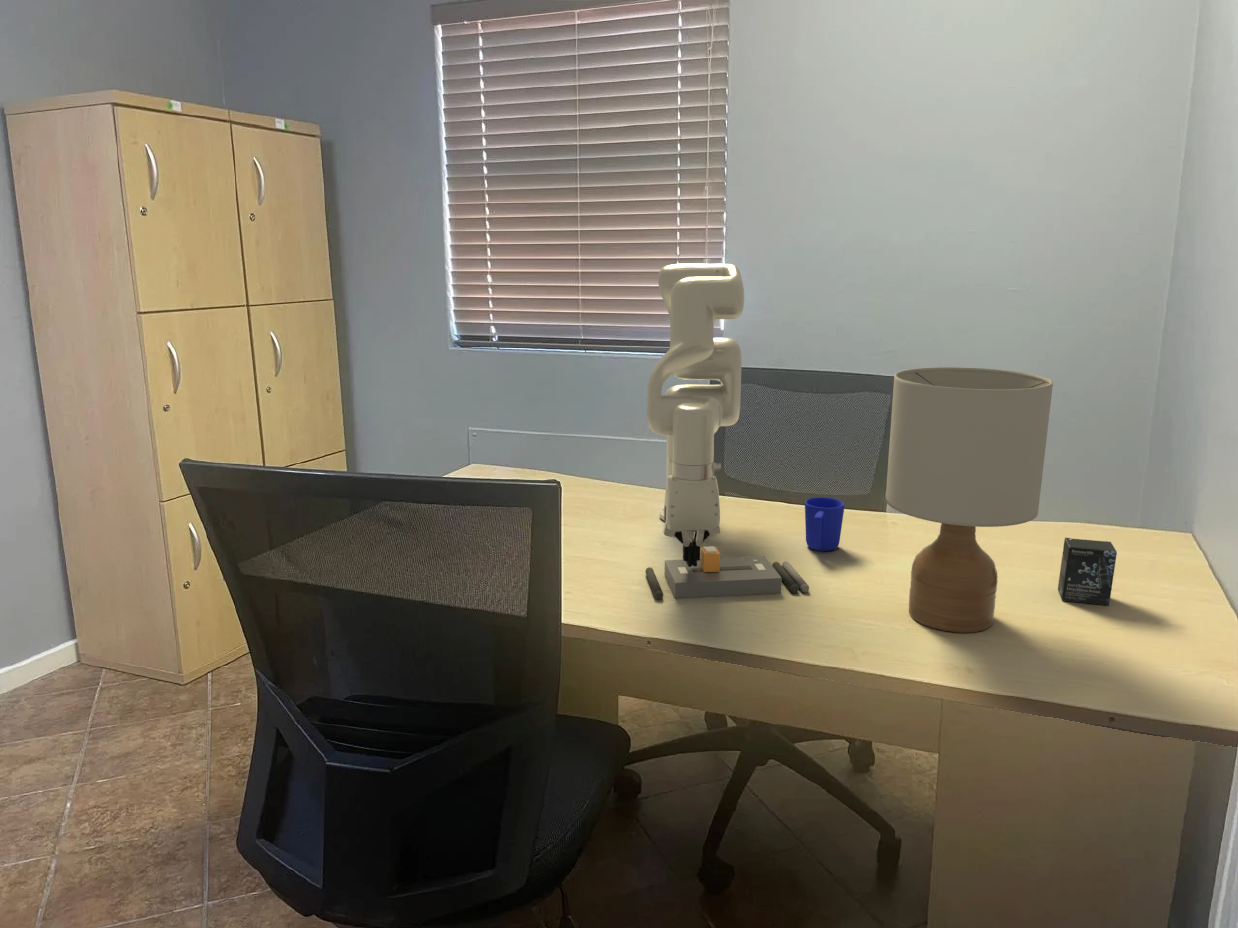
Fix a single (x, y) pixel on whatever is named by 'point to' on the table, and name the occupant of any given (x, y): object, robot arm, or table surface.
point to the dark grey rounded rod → (654, 583)
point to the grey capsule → (786, 577)
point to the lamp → (964, 478)
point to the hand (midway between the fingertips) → (691, 563)
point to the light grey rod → (795, 576)
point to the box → (1087, 571)
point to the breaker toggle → (710, 559)
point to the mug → (823, 522)
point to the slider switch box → (723, 578)
